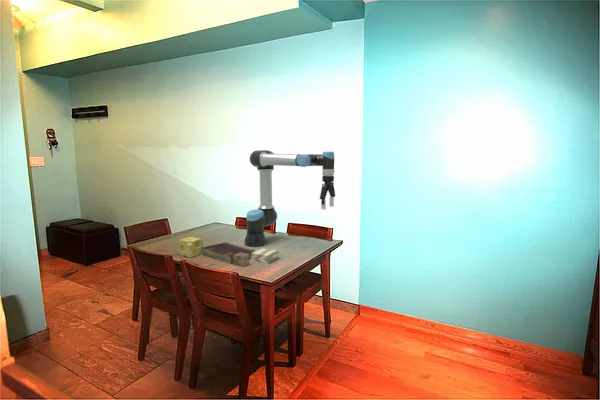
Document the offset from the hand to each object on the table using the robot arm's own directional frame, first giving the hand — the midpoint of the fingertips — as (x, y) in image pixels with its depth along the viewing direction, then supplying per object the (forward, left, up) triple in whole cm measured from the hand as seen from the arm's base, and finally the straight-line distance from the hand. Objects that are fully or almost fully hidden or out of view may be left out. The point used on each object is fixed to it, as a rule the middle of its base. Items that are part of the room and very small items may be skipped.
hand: (327, 208), depth 230 cm
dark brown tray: (-47, -43, -28) cm, 70 cm away
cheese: (-70, -53, -28) cm, 92 cm away
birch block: (-24, -39, -28) cm, 53 cm away
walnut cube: (-30, -53, -28) cm, 67 cm away
